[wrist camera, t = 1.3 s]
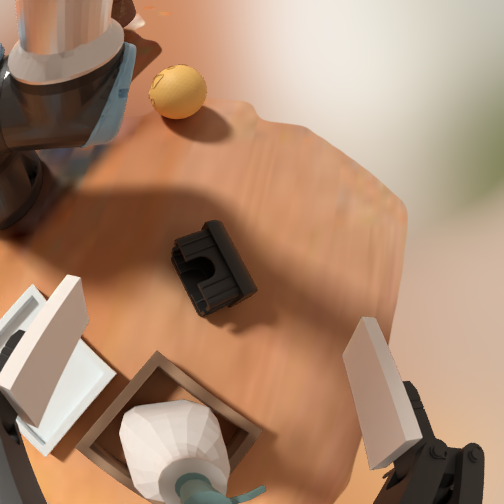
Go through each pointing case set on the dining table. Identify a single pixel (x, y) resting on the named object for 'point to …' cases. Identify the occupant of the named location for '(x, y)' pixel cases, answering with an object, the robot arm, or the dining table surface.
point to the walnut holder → (246, 429)
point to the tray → (70, 383)
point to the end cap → (211, 269)
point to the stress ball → (178, 92)
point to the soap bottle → (178, 454)
